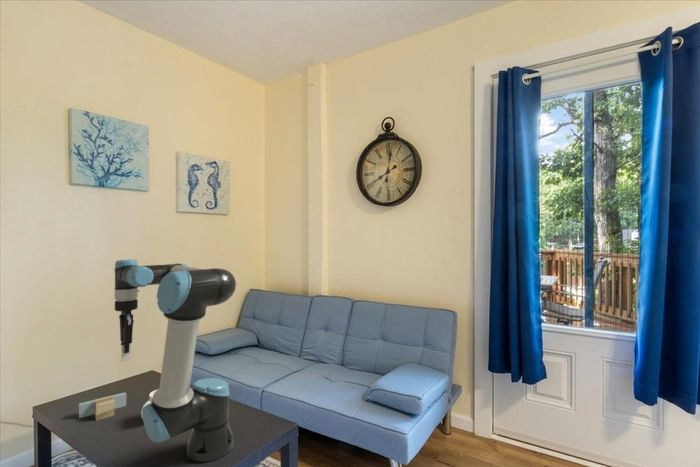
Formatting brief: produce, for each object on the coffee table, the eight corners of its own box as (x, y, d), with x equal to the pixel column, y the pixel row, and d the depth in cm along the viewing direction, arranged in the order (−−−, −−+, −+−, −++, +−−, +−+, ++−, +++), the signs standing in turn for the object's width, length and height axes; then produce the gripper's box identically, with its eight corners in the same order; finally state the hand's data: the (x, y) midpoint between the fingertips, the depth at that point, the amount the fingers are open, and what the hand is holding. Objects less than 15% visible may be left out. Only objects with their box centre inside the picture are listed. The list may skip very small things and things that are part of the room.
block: (114, 415, 142) (114, 400, 142) (96, 420, 138) (96, 405, 138) (112, 409, 147) (112, 395, 147) (94, 414, 143) (94, 400, 143)
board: (126, 405, 150) (126, 394, 150) (79, 418, 139) (79, 405, 139) (125, 403, 152) (125, 392, 152) (78, 415, 141) (78, 403, 141)
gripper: (141, 300, 133) (141, 362, 133) (133, 296, 143) (133, 354, 142) (118, 302, 128) (117, 367, 128) (111, 298, 138) (111, 358, 137)
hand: (125, 360), depth 135 cm, fingers closed
